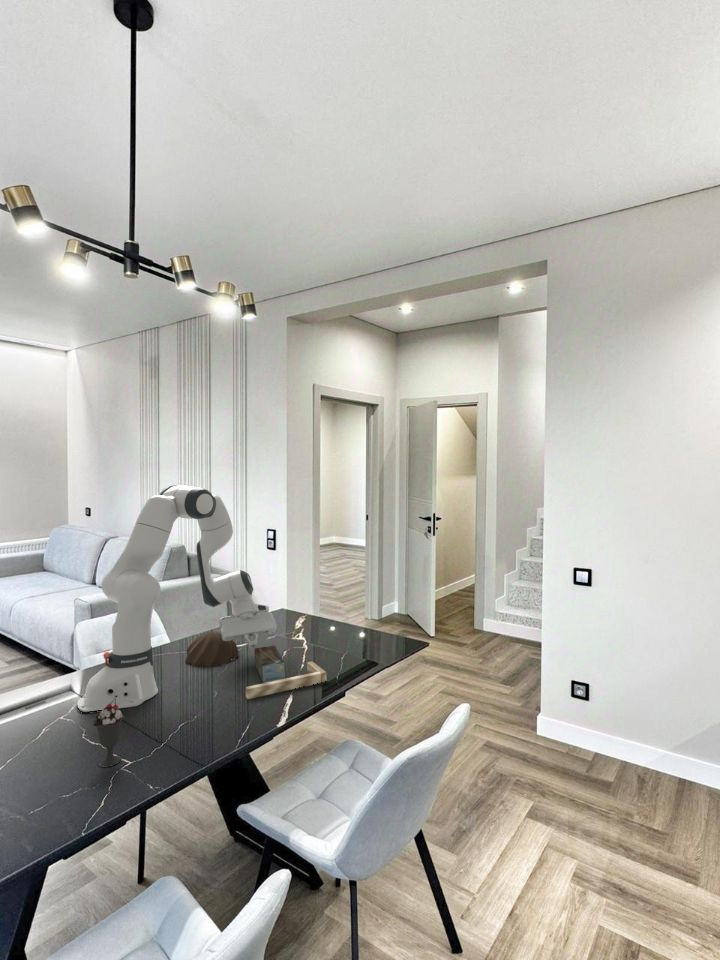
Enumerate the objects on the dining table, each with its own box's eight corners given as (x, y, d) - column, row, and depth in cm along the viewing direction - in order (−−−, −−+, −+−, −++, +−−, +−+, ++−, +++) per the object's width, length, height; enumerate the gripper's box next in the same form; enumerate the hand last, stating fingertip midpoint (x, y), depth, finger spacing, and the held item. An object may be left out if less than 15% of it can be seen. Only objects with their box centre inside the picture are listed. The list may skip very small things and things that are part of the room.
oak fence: (247, 699, 157) (247, 689, 157) (237, 685, 168) (237, 676, 168) (326, 681, 169) (326, 672, 169) (312, 670, 180) (312, 661, 180)
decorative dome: (224, 668, 185) (224, 640, 185) (174, 665, 189) (173, 638, 189) (248, 650, 204) (247, 625, 204) (201, 648, 208) (200, 623, 208)
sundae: (130, 753, 127) (128, 692, 127) (118, 769, 120) (116, 703, 120) (102, 755, 127) (101, 693, 127) (89, 770, 120) (87, 705, 120)
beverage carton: (261, 684, 169) (261, 663, 169) (254, 665, 187) (253, 646, 187) (286, 680, 172) (285, 660, 172) (276, 662, 190) (275, 643, 190)
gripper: (218, 613, 192) (226, 646, 183) (272, 605, 201) (281, 637, 193) (216, 622, 196) (223, 656, 187) (269, 614, 205) (278, 645, 197)
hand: (253, 646), depth 190 cm, fingers closed
